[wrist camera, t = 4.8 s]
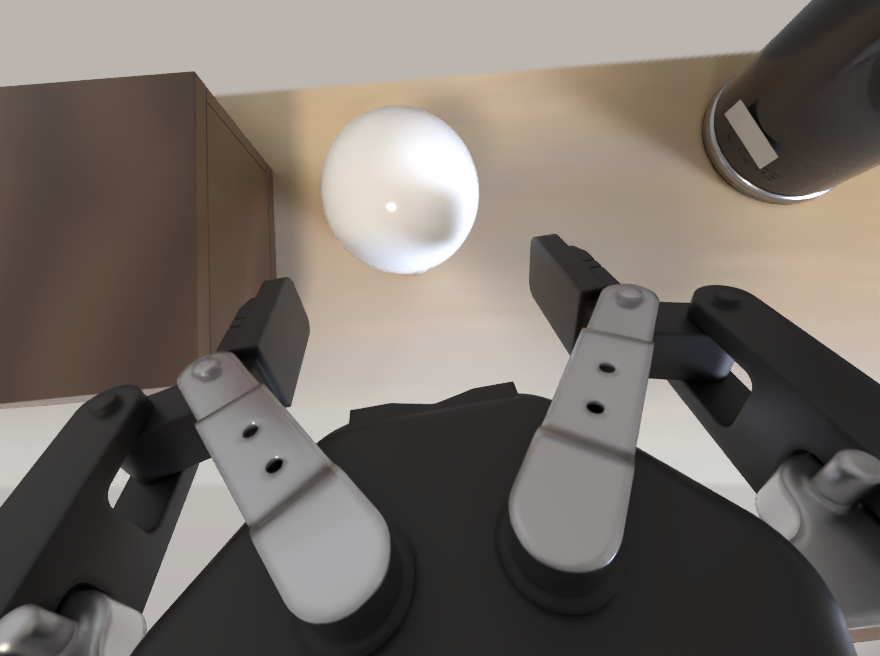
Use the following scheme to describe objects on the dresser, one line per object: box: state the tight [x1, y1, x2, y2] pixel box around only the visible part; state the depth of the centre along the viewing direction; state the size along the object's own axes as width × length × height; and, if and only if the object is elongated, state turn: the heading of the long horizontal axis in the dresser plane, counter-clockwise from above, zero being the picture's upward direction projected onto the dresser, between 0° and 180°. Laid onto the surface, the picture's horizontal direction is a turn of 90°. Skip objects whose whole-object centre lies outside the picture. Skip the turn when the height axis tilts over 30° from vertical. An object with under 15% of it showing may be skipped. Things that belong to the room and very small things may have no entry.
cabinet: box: [0, 72, 276, 409], centre depth 19 cm, size 14×14×8 cm
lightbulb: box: [320, 105, 479, 276], centre depth 17 cm, size 6×6×11 cm
